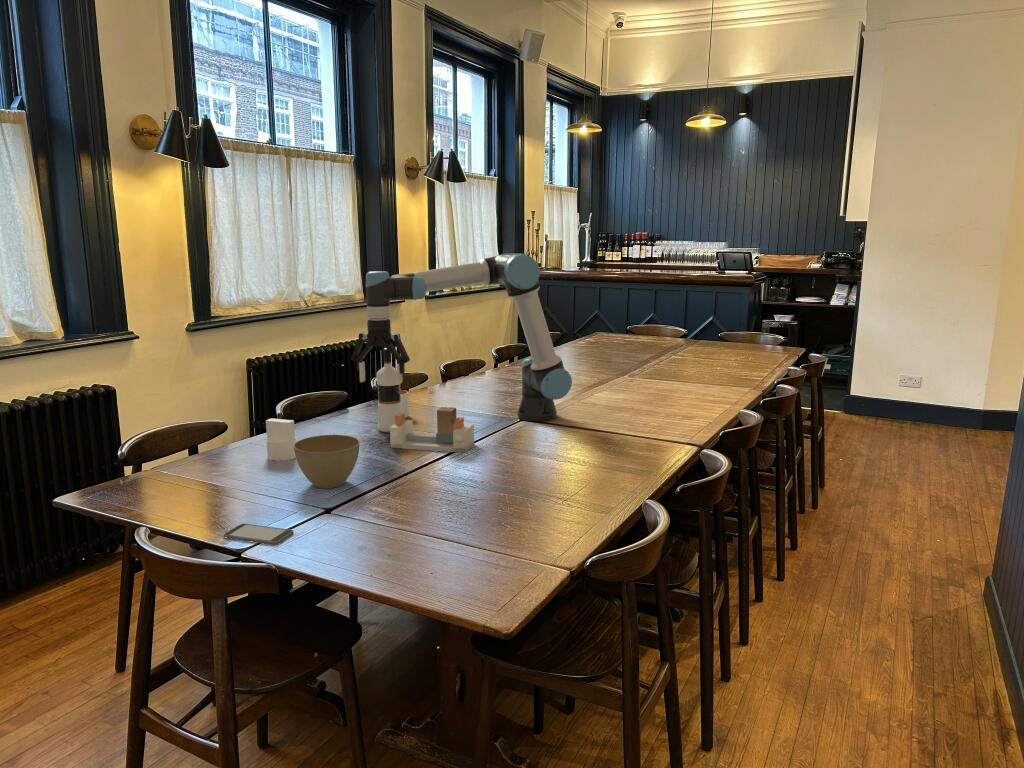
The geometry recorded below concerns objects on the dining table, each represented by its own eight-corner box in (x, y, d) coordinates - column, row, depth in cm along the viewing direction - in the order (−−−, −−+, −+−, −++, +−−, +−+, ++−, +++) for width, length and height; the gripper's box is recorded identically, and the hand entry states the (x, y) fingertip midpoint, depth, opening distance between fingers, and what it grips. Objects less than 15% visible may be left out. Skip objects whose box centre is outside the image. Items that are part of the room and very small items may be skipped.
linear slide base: (474, 444, 247) (473, 415, 245) (464, 453, 238) (464, 423, 236) (402, 439, 254) (401, 411, 252) (390, 447, 244) (389, 418, 242)
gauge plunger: (404, 421, 249) (404, 412, 248) (400, 424, 245) (399, 415, 244) (399, 421, 249) (399, 412, 249) (394, 424, 245) (394, 415, 245)
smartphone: (276, 542, 169) (221, 535, 173) (276, 546, 169) (222, 539, 173) (294, 530, 175) (242, 523, 180) (295, 534, 176) (242, 527, 180)
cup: (404, 421, 278) (403, 395, 276) (379, 420, 280) (377, 394, 278) (412, 415, 287) (411, 390, 285) (388, 413, 289) (387, 389, 287)
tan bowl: (328, 499, 198) (326, 456, 195) (282, 487, 207) (279, 446, 204) (374, 480, 213) (372, 439, 210) (329, 469, 222) (327, 431, 219)
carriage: (458, 439, 246) (457, 407, 244) (453, 443, 241) (452, 411, 239) (441, 438, 247) (440, 406, 245) (436, 442, 242) (435, 410, 240)
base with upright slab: (302, 454, 238) (300, 418, 235) (285, 462, 230) (283, 425, 227) (279, 451, 241) (276, 416, 238) (261, 459, 232) (258, 422, 230)
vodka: (375, 427, 269) (371, 346, 263) (400, 425, 272) (397, 345, 266) (380, 434, 260) (376, 350, 254) (405, 431, 264) (402, 349, 257)
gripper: (418, 318, 242) (420, 381, 246) (349, 316, 248) (352, 378, 252) (410, 321, 235) (411, 386, 239) (338, 319, 240) (342, 382, 245)
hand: (381, 382), depth 246 cm, fingers open, 13 cm apart
